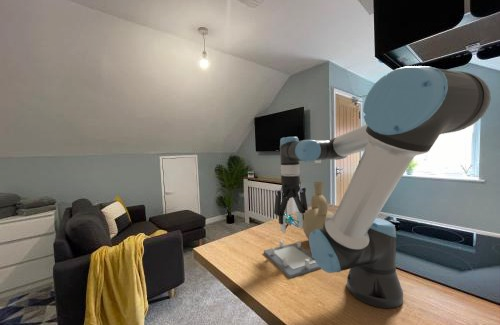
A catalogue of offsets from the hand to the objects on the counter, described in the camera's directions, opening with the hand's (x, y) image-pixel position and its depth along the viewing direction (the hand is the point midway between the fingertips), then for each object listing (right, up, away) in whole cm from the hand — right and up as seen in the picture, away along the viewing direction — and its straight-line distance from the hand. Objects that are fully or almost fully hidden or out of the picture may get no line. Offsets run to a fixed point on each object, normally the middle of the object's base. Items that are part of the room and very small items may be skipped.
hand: (291, 229), depth 86 cm
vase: (+17, -12, +15) cm, 25 cm away
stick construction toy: (+1, -1, +2) cm, 3 cm away
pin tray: (+1, -13, +1) cm, 13 cm away
